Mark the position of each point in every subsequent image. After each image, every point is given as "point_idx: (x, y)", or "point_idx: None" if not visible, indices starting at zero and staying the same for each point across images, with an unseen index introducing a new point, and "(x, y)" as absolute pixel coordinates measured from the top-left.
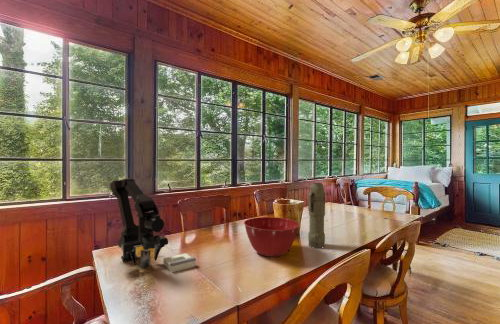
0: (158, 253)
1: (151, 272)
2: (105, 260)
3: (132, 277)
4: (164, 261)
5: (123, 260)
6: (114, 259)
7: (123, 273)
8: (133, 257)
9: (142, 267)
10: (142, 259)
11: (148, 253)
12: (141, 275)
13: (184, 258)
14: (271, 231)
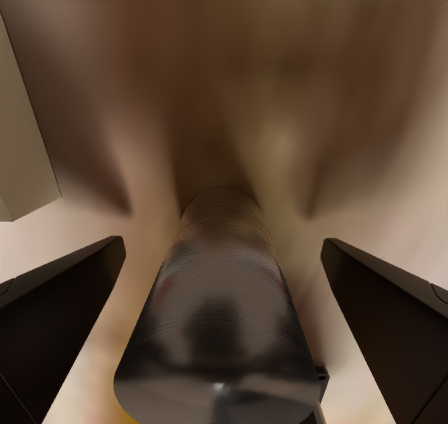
0: (13, 279)
1: (205, 25)
2: (389, 415)
3: (432, 10)
4: (20, 172)
5: (328, 376)
6: (347, 408)
7: (430, 185)
8: (441, 297)
9: (257, 205)
10: (271, 251)
11: (174, 296)
12: (330, 3)
13: None
14: None
